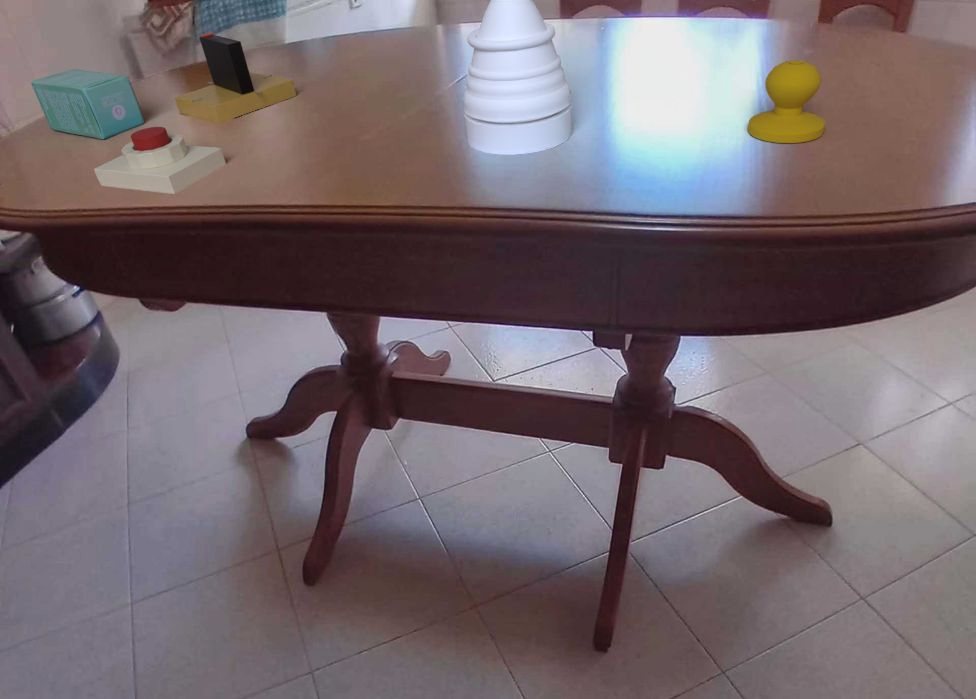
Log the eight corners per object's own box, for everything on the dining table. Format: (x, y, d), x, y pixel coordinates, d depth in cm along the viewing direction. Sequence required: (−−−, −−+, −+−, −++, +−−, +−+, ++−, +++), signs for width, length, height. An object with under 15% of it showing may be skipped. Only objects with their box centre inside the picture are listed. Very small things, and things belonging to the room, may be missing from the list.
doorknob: (786, 149, 75) (732, 130, 81) (839, 131, 78) (783, 114, 83) (798, 77, 70) (740, 62, 76) (854, 61, 73) (793, 48, 79)
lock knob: (254, 91, 104) (240, 39, 100) (242, 94, 103) (227, 42, 99) (225, 81, 111) (210, 32, 106) (213, 84, 110) (198, 35, 105)
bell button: (128, 151, 83) (122, 137, 82) (153, 139, 86) (148, 125, 85) (153, 154, 82) (148, 139, 81) (178, 141, 85) (172, 127, 83)
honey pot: (476, 119, 92) (461, -35, 82) (574, 115, 90) (572, -43, 79) (457, 156, 82) (437, -14, 71) (568, 153, 80) (563, -24, 69)
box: (104, 141, 99) (81, 86, 95) (51, 132, 106) (27, 81, 101) (147, 124, 104) (128, 72, 100) (94, 117, 111) (73, 67, 106)
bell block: (100, 186, 85) (86, 154, 83) (155, 158, 91) (143, 128, 89) (174, 194, 80) (162, 161, 78) (226, 164, 87) (216, 133, 85)
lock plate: (225, 125, 100) (219, 106, 99) (173, 112, 108) (167, 95, 107) (303, 96, 109) (299, 79, 107) (250, 86, 116) (245, 70, 115)
